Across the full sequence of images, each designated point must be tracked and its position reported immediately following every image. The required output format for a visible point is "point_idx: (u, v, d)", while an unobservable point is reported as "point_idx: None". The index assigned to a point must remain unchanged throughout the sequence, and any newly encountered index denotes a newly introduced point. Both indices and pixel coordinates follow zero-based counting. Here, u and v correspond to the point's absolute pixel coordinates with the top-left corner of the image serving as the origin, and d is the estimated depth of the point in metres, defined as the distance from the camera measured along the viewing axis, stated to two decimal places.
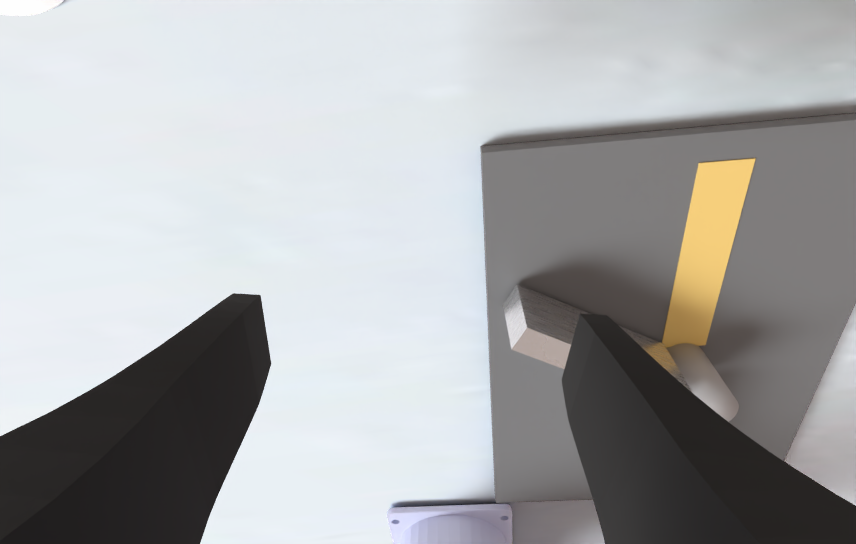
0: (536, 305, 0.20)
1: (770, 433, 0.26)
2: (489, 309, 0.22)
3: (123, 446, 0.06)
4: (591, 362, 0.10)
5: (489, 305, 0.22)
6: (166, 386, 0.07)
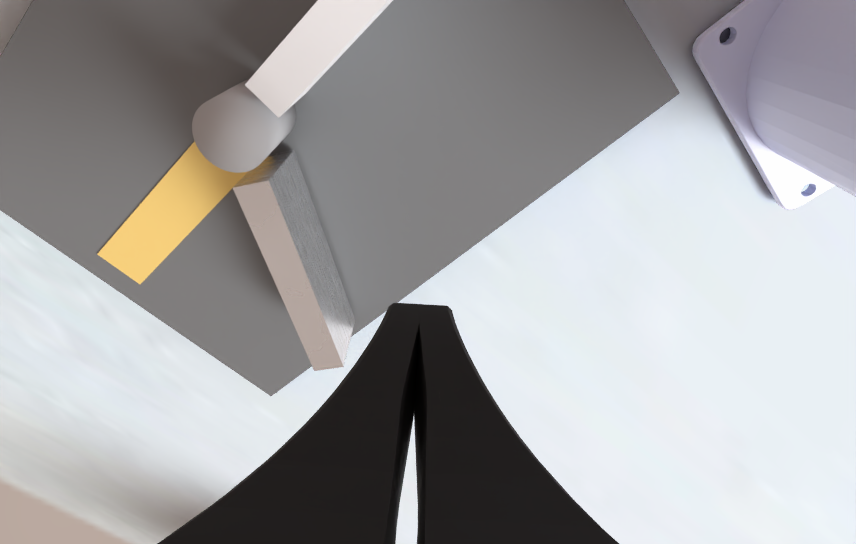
0: None
1: None
2: (371, 320, 0.22)
3: None
4: (418, 352, 0.10)
5: (367, 322, 0.22)
6: (398, 399, 0.07)
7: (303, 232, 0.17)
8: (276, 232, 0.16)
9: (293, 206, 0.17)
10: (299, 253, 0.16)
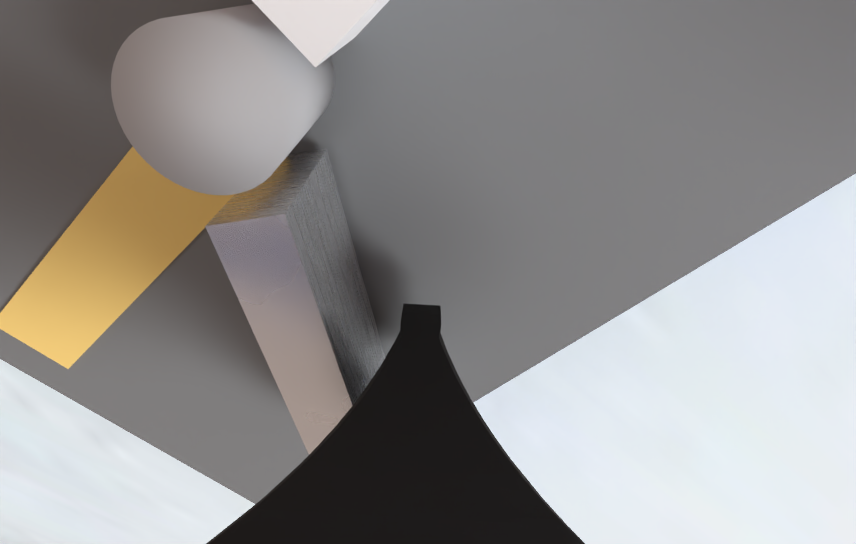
0: None
1: None
2: None
3: None
4: None
5: None
6: (426, 400, 0.07)
7: (341, 305, 0.09)
8: (294, 315, 0.08)
9: (326, 258, 0.08)
10: (337, 353, 0.08)
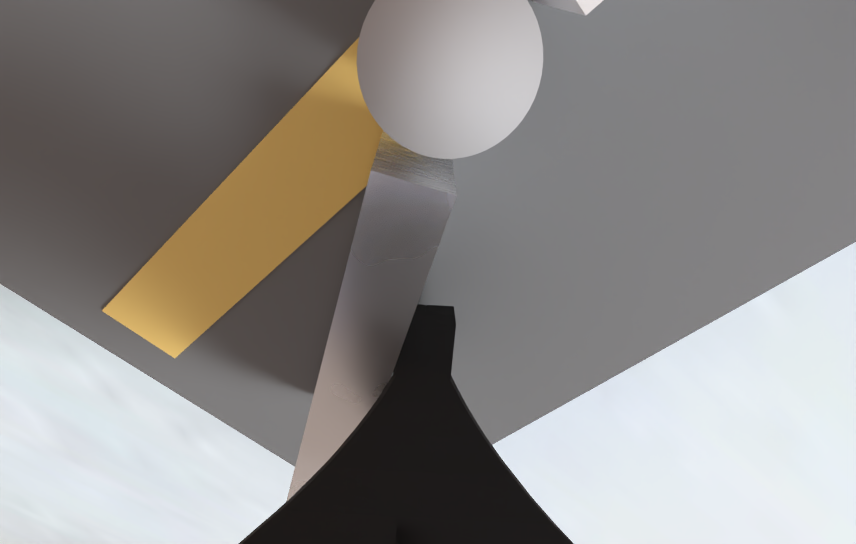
0: None
1: None
2: (554, 408, 0.13)
3: None
4: None
5: (547, 411, 0.13)
6: (446, 402, 0.07)
7: None
8: (393, 289, 0.07)
9: None
10: (403, 338, 0.08)
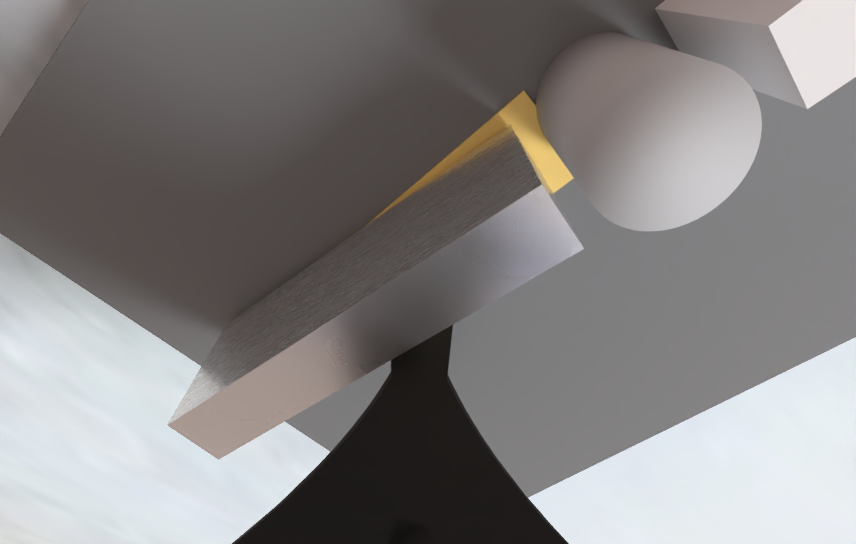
0: (231, 339, 0.10)
1: None
2: (649, 436, 0.14)
3: None
4: None
5: (642, 439, 0.14)
6: (442, 401, 0.07)
7: None
8: (466, 289, 0.07)
9: None
10: (430, 332, 0.08)
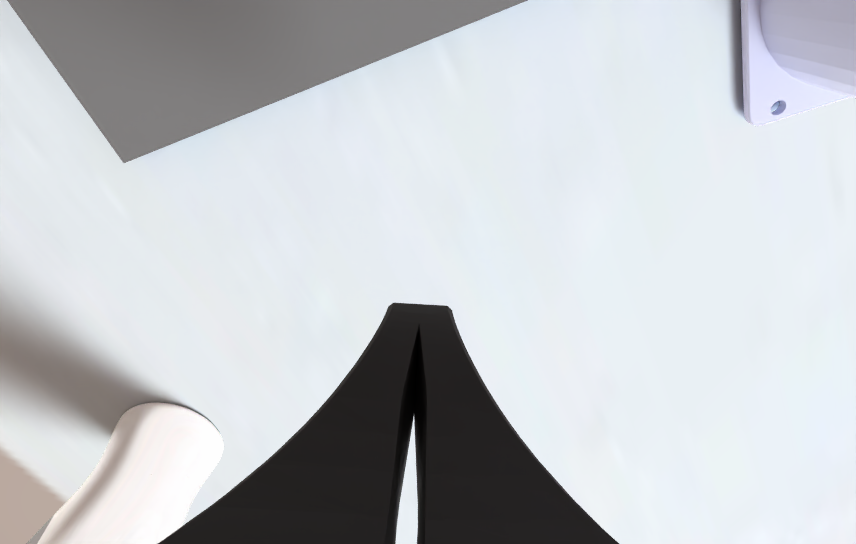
0: None
1: None
2: (284, 96, 0.18)
3: None
4: (418, 352, 0.10)
5: (279, 98, 0.18)
6: (398, 399, 0.07)
7: None
8: None
9: None
10: None
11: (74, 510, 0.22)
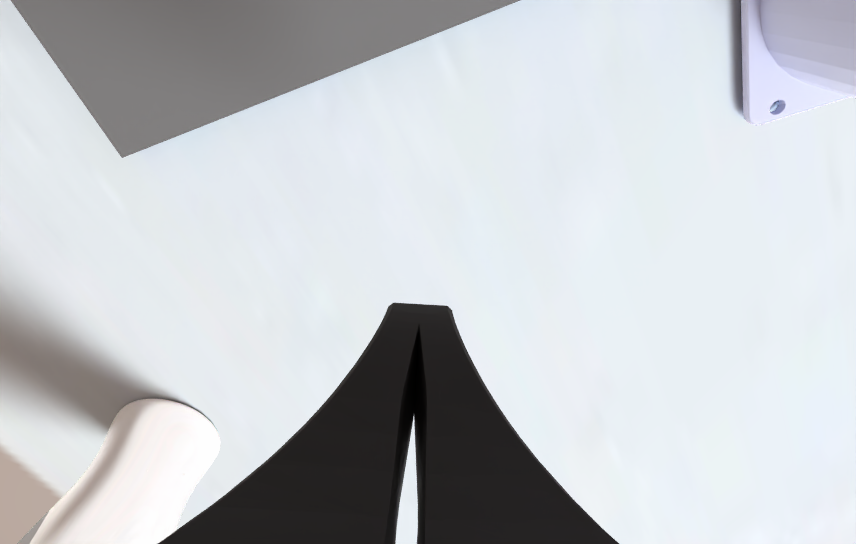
0: None
1: None
2: (283, 92, 0.18)
3: None
4: (418, 352, 0.10)
5: (278, 93, 0.18)
6: (398, 399, 0.07)
7: None
8: None
9: None
10: None
11: (70, 505, 0.22)
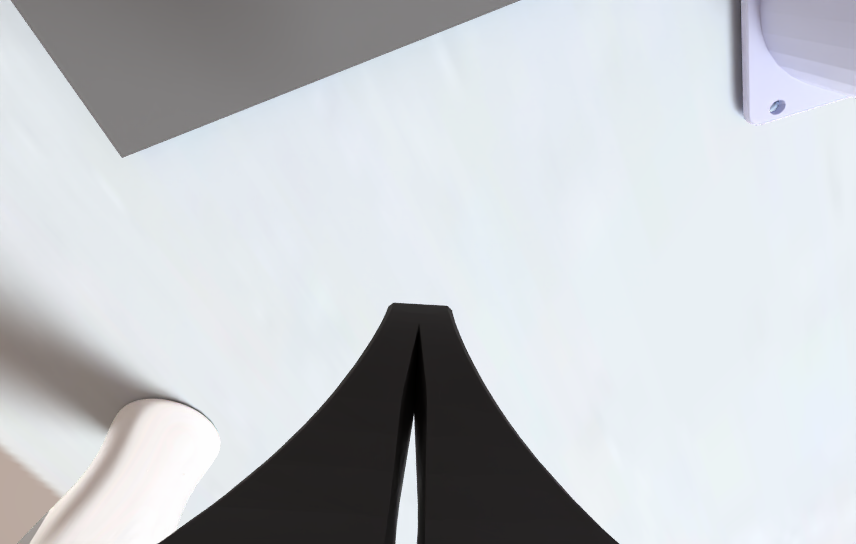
0: None
1: None
2: (283, 92, 0.18)
3: None
4: (418, 352, 0.10)
5: (278, 93, 0.18)
6: (398, 399, 0.07)
7: None
8: None
9: None
10: None
11: (70, 505, 0.22)
